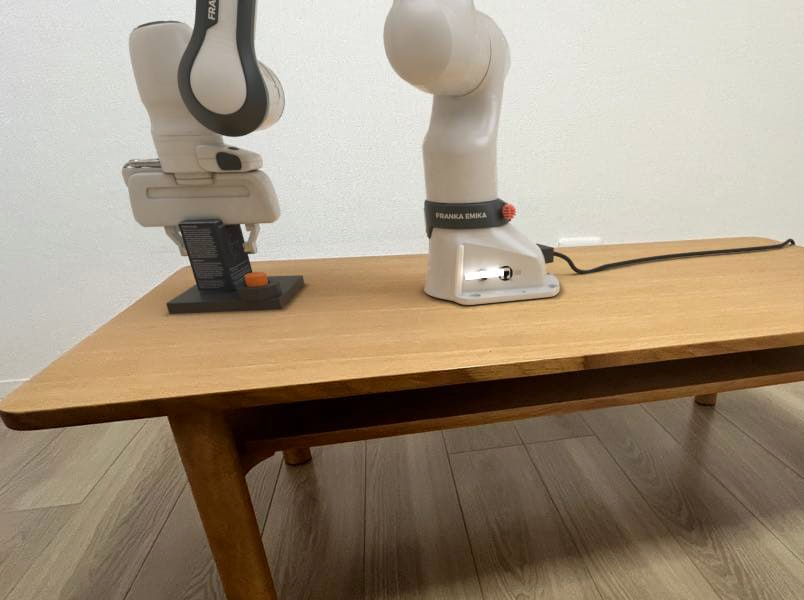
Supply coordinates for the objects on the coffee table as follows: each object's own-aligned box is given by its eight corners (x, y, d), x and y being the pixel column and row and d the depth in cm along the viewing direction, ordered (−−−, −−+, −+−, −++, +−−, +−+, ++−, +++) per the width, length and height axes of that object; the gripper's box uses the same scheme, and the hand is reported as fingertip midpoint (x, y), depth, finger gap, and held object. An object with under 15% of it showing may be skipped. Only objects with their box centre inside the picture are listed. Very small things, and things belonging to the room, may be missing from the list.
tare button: (271, 282, 83) (268, 271, 82) (265, 288, 80) (262, 276, 79) (250, 283, 82) (248, 272, 82) (244, 289, 80) (241, 277, 79)
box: (221, 279, 90) (202, 213, 85) (255, 278, 90) (238, 212, 85) (197, 292, 83) (175, 221, 78) (234, 291, 83) (215, 220, 79)
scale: (304, 284, 93) (300, 264, 92) (280, 310, 80) (275, 287, 79) (207, 288, 92) (201, 267, 90) (168, 315, 79) (160, 292, 77)
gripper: (105, 160, 74) (139, 261, 81) (259, 157, 76) (280, 256, 83) (129, 158, 80) (160, 252, 86) (272, 155, 82) (291, 247, 88)
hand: (220, 254), depth 85 cm, fingers open, 8 cm apart
